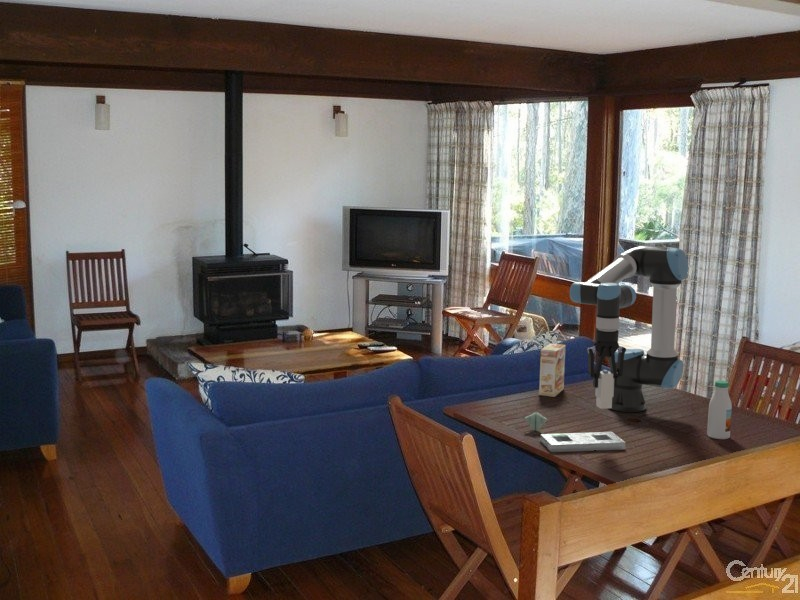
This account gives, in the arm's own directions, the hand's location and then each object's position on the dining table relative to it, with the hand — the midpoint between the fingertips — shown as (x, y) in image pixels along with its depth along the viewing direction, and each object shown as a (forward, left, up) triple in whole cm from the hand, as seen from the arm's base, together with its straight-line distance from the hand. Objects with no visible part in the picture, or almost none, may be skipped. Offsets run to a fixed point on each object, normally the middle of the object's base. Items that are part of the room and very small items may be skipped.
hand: (604, 396), depth 304 cm
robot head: (+18, -18, -17) cm, 31 cm away
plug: (0, 0, -4) cm, 4 cm away
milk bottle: (-45, -4, -17) cm, 48 cm away
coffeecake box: (-5, -70, -17) cm, 72 cm away
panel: (+7, 0, -17) cm, 18 cm away
